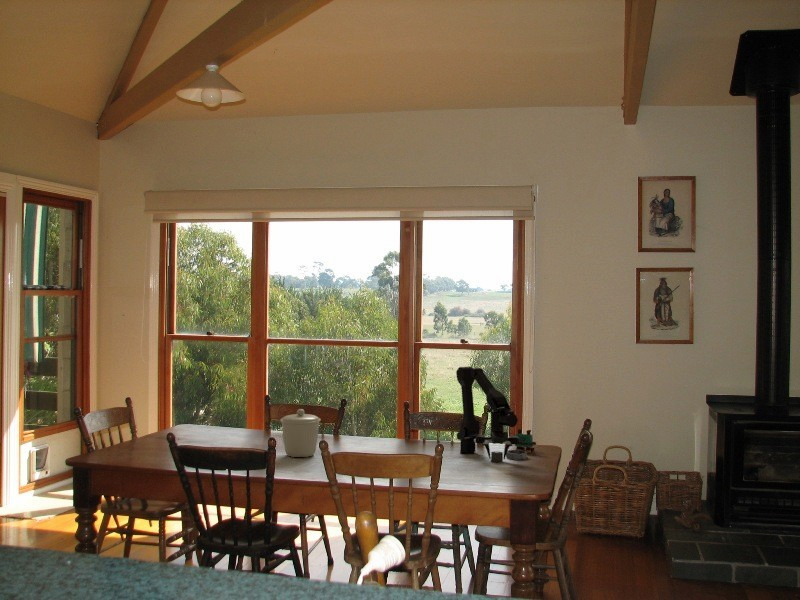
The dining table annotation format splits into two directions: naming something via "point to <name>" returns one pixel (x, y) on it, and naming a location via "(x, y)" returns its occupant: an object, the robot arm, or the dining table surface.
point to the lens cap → (497, 457)
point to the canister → (300, 434)
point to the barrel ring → (516, 454)
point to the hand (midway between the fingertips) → (496, 459)
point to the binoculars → (525, 441)
